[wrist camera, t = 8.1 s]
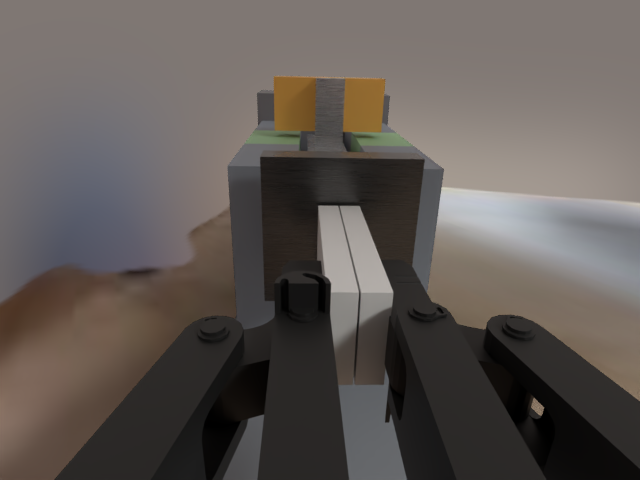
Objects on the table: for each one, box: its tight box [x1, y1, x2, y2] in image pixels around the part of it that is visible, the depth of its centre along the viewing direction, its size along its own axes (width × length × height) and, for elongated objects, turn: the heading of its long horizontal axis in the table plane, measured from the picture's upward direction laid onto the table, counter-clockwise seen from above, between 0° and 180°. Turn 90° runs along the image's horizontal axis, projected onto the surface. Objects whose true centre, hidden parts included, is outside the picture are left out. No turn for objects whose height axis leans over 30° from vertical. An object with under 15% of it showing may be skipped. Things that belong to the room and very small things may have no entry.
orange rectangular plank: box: [274, 76, 385, 132], centre depth 26 cm, size 2×6×3 cm, turn 92°
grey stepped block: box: [223, 90, 444, 480], centre depth 23 cm, size 32×11×13 cm, turn 2°
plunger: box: [260, 78, 425, 301], centre depth 24 cm, size 17×6×8 cm, turn 2°
